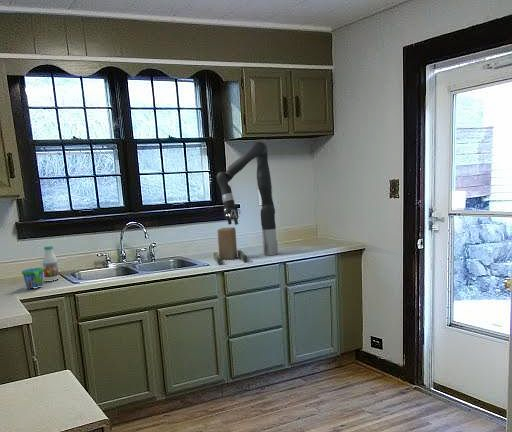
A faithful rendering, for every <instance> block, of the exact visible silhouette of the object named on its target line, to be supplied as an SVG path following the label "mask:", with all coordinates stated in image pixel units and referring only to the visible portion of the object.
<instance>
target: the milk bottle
mask: <svg viewBox="0 0 512 432" xmlns="http://www.w3.org/2000/svg"><path fill="white" fill-rule="evenodd" d="M43 249H44V255H43V259H42V268H43V269H44V271H43V279H44V281H45V280H54V279H58V278H59V279H60V275H59V274H60V273H59V264H58V259H57V256H56V255H55V252H54V246H53V245H46V246H44V247H43Z"/></svg>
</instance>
